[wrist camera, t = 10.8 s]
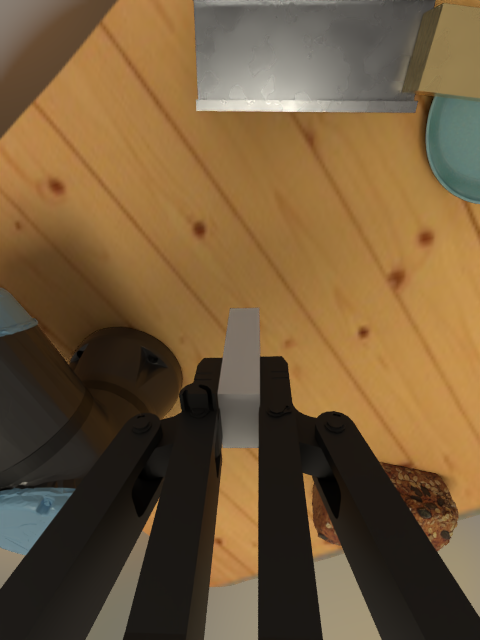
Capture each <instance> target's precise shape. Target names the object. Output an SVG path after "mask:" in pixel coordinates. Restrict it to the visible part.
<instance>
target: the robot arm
mask: <svg viewBox="0 0 480 640" xmlns="http://www.w3.org/2000/svg"><path fill="white" fill-rule="evenodd" d="M37 324H38V321H37V320H36V319H35V318H32V317H31V316H30V315H29V314H28V313H27V312H26V310H25V309H24V308H23V307H22V306H21V305H20V304H19V302H18V301H17V300H16V299H15V298H14V297H13V296H12V294H10V293H9V292H8V291H7V290H5V289H3V288H1V287H0V547H1V548H3V549H6V550H9V551H11V552H15V553H19V554H22V555H26V556H25V557H24V558H23V560H22V561H21V562H20V564H19V565H18V567H17V568H16V569H15V570H14V572H13V573H12V574H11V576H10V577H9V578H8V580H7V581H6V582H5V584H4V585H3V586H2V588H1V589H0V640H85V639H86V637H87V636H88V633H89V632H90V630H91V628H92V626H93V624H94V622H95V620H96V618H97V616H98V614H99V612H100V611H101V609H102V607H103V605H104V603H105V601H106V599H107V597H108V595H109V593H110V591H111V589H112V587H113V586H114V584H115V582H116V580H117V578H118V576H119V574H120V572H121V570H122V568H123V566H124V564H125V562H126V560H127V558H128V557H129V555H130V553H131V551H132V549H133V547H134V545H135V543H136V541H137V539H138V537H139V536H140V534H141V532H142V530H143V528H144V526H145V524H146V522H147V520H148V518H149V516H150V514H151V512H152V511H153V509H154V507H155V505H156V503H157V501H158V499H159V502H158V506H157V510H156V514H155V518H154V522H153V525H152V529H151V533H150V537H149V541H148V545H147V549H146V553H145V557H144V561H143V565H142V568H141V572H140V576H139V580H138V584H137V588H136V592H135V596H134V599H133V604H132V608H131V611H130V615H129V619H128V623H127V627H126V631H125V634H124V637H123V640H204V633H205V632H204V631H205V623H206V613H207V603H208V593H209V584H210V574H211V564H212V554H213V544H214V535H215V525H216V515H217V505H218V495H219V485H220V476H221V466H222V454H221V448H222V445H223V448H259V502H258V579H259V580H258V640H323V637H322V628H321V621H320V612H319V604H318V596H317V587H316V579H315V571H314V563H313V555H312V546H311V538H310V530H309V522H308V514H307V506H306V497H305V489H304V481H303V473H305V474H308V475H312V478H313V481H314V483H315V485H316V488H317V490H318V492H319V495H320V497H321V499H322V502H323V504H324V506H325V509H326V511H327V513H328V515H329V518H330V520H331V522H332V525H333V527H334V529H335V532H336V534H337V536H338V539H339V541H340V543H341V546H342V548H343V550H344V553H345V555H346V557H347V560H348V562H349V564H350V567H351V569H352V571H353V574H354V576H355V578H356V581H357V583H358V585H359V588H360V590H361V592H362V595H363V597H364V599H365V602H366V604H367V606H368V609H369V611H370V613H371V616H372V618H373V620H374V622H375V625H376V627H377V629H378V632H379V634H380V637H381V639H382V640H480V617H479V616H478V614H477V613H476V611H475V610H474V608H473V606H472V605H471V603H470V602H469V600H468V599H467V597H466V596H465V594H464V593H463V591H462V590H461V588H460V586H459V585H458V583H457V582H456V580H455V579H454V577H453V576H452V574H451V573H450V571H449V569H448V568H447V566H446V565H445V563H444V562H443V560H442V559H441V557H440V556H439V554H438V552H437V551H436V549H435V548H434V546H433V545H432V543H431V542H430V540H429V538H428V537H427V535H426V534H425V532H424V531H423V529H422V528H421V526H420V525H419V523H418V521H417V520H416V518H415V517H414V515H413V514H412V512H411V511H410V509H409V508H408V506H407V504H406V503H405V501H404V500H403V498H402V497H401V495H400V494H399V492H398V491H397V489H396V487H395V486H394V484H393V483H392V481H391V480H390V478H389V477H388V475H387V474H386V472H385V470H384V469H383V467H382V466H381V464H380V463H379V461H378V460H377V458H376V457H375V455H374V453H373V452H372V450H371V449H370V447H369V446H368V444H367V443H366V441H365V440H364V438H363V436H362V435H361V433H360V432H359V430H358V429H357V427H356V426H355V424H354V422H353V421H352V420H351V419H350V418H349V417H348V416H346V415H344V414H342V413H339V412H335V411H332V412H325V413H322V414H321V415H319V416H318V417H317V418H314V417H310V416H307V415H304V414H302V413H300V412H299V411H298V410H297V409H296V408H295V407H294V406H293V403H292V397H291V388H290V380H289V373H288V363H287V362H286V361H285V360H284V358H283V357H282V356H273V357H260V319H259V308H230V312H229V319H228V326H227V333H226V339H225V346H224V353H223V358H204V359H203V360H202V361H201V362H200V363H199V364H198V366H197V370H196V374H195V378H194V382H193V383H192V384H189V385H187V386H185V387H184V388H183V389H182V390H181V386H182V372H181V369H180V366H179V363H178V361H177V359H176V358H175V356H174V355H173V354H172V352H171V351H170V350H169V349H168V348H167V347H166V346H165V345H164V344H162V343H161V342H160V341H159V340H157V339H155V338H154V337H152V336H150V335H148V334H146V333H144V332H141V331H138V330H134V329H130V328H122V327H114V328H106V329H102V330H99V331H96V332H94V333H92V334H91V335H89V336H88V337H87V338H86V339H85V340H84V341H83V342H82V343H81V344H80V346H79V347H78V348H77V349H76V351H75V352H74V354H73V356H72V358H71V360H70V364H69V365H68V363H67V362H66V361H65V360H64V358H63V357H62V356H61V354H60V353H59V352H58V351H57V349H56V348H55V347H54V345H53V344H52V343H51V342H50V340H49V339H48V338H47V336H46V335H45V334H44V333H43V331H42V330H41V329H40V327H39V326H38V325H37ZM180 390H181V391H180ZM178 396H179V397H180V403H181V409H182V412H181V413H180V414H178V415H176V416H173V417H170V418H166V419H163V418H164V416H165V415H166V414H167V413H168V412H169V411H170V410H171V409H172V408H173V406H174V404H175V403H176V401H177V398H178ZM159 497H160V498H159Z"/></svg>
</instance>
